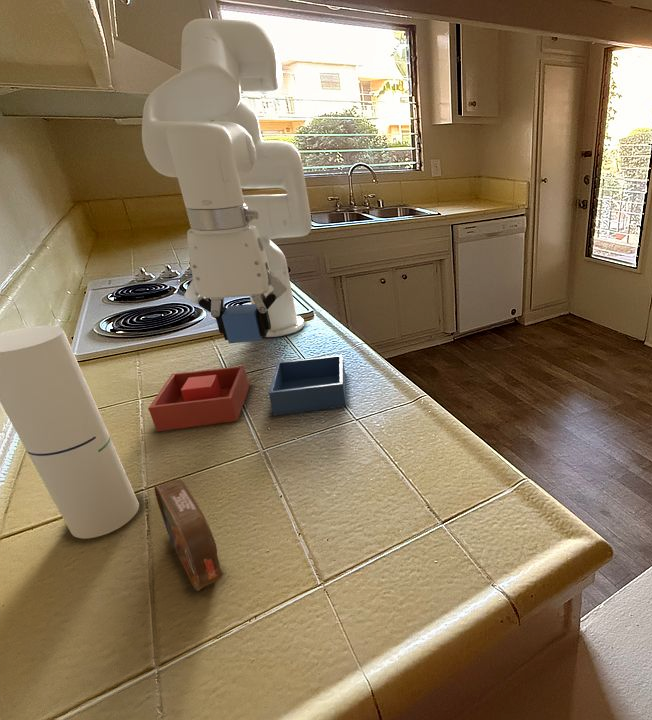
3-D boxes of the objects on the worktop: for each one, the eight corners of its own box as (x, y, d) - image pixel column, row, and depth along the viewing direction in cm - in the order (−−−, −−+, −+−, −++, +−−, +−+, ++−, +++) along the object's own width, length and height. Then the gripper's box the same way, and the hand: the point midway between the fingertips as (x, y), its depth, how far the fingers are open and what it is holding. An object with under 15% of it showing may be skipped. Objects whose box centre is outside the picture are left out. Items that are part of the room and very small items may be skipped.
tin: (164, 528, 58) (143, 475, 54) (192, 515, 60) (173, 463, 56) (203, 608, 48) (180, 550, 44) (234, 589, 50) (215, 532, 46)
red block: (195, 399, 84) (188, 377, 82) (223, 396, 85) (216, 374, 83) (188, 413, 80) (180, 390, 78) (217, 409, 81) (210, 386, 79)
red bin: (179, 395, 87) (171, 373, 85) (249, 386, 89) (244, 365, 87) (156, 431, 76) (147, 408, 74) (237, 420, 79) (231, 397, 77)
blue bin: (281, 382, 91) (276, 362, 89) (345, 375, 94) (342, 354, 92) (273, 416, 80) (268, 393, 78) (346, 406, 83) (342, 384, 81)
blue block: (235, 332, 76) (228, 305, 74) (264, 329, 77) (259, 303, 75) (228, 343, 72) (221, 316, 70) (260, 340, 73) (254, 313, 71)
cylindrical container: (56, 529, 57) (-46, 347, 46) (113, 491, 63) (35, 322, 52) (97, 544, 55) (0, 357, 44) (152, 504, 61) (79, 330, 50)
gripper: (284, 212, 71) (304, 322, 80) (162, 216, 68) (196, 331, 76) (278, 221, 65) (300, 339, 73) (142, 226, 61) (181, 350, 69)
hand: (247, 334), depth 74 cm, fingers closed on blue block, 4 cm apart
